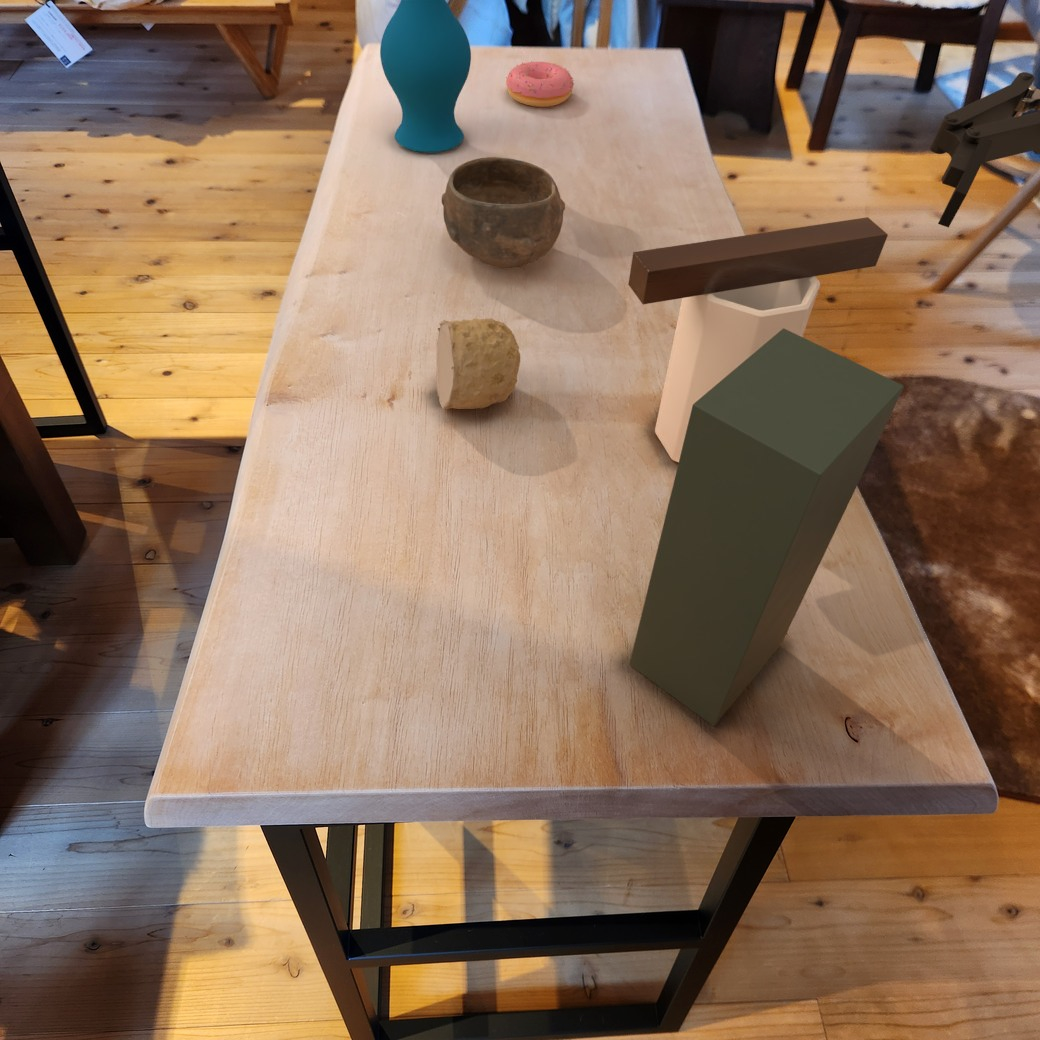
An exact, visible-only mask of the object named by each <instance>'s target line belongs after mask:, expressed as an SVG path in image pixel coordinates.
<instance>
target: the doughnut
mask: <svg viewBox="0 0 1040 1040" xmlns="http://www.w3.org/2000/svg"><path fill="white" fill-rule="evenodd" d="M574 81H575V80H574V78H573V77H572V75H571V73H570V71H569V70H567V67H563V66H561V65H559V64H557V63H553V62H549V61H533V60H531V61H530V62H529V61H528V62H522V63H520V64H516V66H514V67H513V68H511V70H510V71H509V73H508V74H507V77H506V82H505V83H506V88H507V92H508V94H509V95H510V96H511V98H512V99H514V100H515V101H517V102H518V103H521V104H524V105H526V106H531V107H538V108H539V107H540V108H541V107H543V108H544V107H552V106H553V107H554V106H557V105H559V104H562V103H563V102H565V101H566V100H568V99H569V98H570V96H571V94H572V92H573V89H574V85H575V83H574Z"/></svg>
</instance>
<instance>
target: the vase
mask: <svg viewBox="0 0 1040 1040" xmlns="http://www.w3.org/2000/svg"><path fill="white" fill-rule="evenodd" d="M379 52H380V53H379V56H380V62H381V63H380V64H381V67H382V70H383V74H384V76H385V78H386V80H387V82H388V84H389V86H390V87H391V89H392V91H393V93H394V94H395V97H396V98H397V100H398V103H399V105H400V108H401V123H400V124H399V126H398V127H397V129H396V131H395V132H394V139H395V141H396V142H397V143H398V144H399V145H400V146H402V147H403V148H404V149H407V150H410V151H412V152H417V153H427V154H429V153H433V154H434V153H442V152H446V151H450V150H453V149H455V148H456V147H458V146H459V145H461V143H462V142H463V140H464V139H465V134H464V132H463V130H462V129H461V127H460V125H458V124H457V121H456V117H455V109H456V104H457V102H458V98H459V96H460V94H461V93H462V90H463V88H464V86H465V84H466V82H467V80H468V77H469V73H470V69H471V61H472V50H471V45H470V41H469V38H468V35H467V33H466V30H465V29H464V27H463V25H462V24H461V22H460V21H459V19H458V18H457V16H456V15H455V14H454V12H453V10H452V9H451V8H450V5H449V4H448V2H447V1H446V0H400V2H399V4H398V6H397V8H396V10H395V12H394V13H393V15H392V16H391V18H390V20H389V21H388V23H387V25H386V27H385V29H384V31H383V33H382V37H381V41H380V48H379Z"/></svg>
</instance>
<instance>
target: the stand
mask: <svg viewBox="0 0 1040 1040" xmlns="http://www.w3.org/2000/svg"><path fill="white" fill-rule="evenodd" d="M904 388H905V385H904V384H902V383H900V382H897V381H896V380H894V379H891V378H889V377H887V376H885V375H883V374H880V373H878V372H876V371H874V370H872V369H870V368H867V367H865V366H863V365H862V364H860V363H858V362H855V361H853V360H851V359H849V358H847V357H844V356H842V355H841V354H839V353H836V352H834V351H832V350H830V349H828V348H826V347H825V346H822V345H819V344H818V343H816V342H814V341H811V340H810V339H807V338H805V337H804V336H803V337H801V336H799V335H797V334H795V333H792V332H790V331H788V330H786V329H784V328H783V329H782V330H781V331H779V332H778V333H777V334H776V335H775V336H773V337H772V338H771V339H770V340H769V341H768V342H766V343H765V344H764V345H763V346H762V347H760V348H759V349H758V350H757V351H756V352H755V353H753V354H752V355H751V356H750V357H749V358H747V359H746V360H745V361H744V362H743V363H741V364H740V365H739V366H738V367H737V368H736V369H734V370H733V371H732V372H731V373H730V374H728V375H727V376H726V377H725V378H724V379H722V380H721V381H720V382H719V383H718V384H717V385H715V386H714V387H713V388H712V389H711V390H709V391H708V392H707V393H706V394H705V395H703V396H702V397H701V398H700V399H699V400H698V401H696V402H695V403H694V404H693V406H692V410H691V414H690V418H689V422H688V426H687V430H686V435H685V439H684V443H683V447H682V451H681V455H680V459H679V462H677V463H678V464H677V467H676V472H675V475H674V480H673V483H672V488H671V491H670V492H671V493H670V497H669V500H668V505H667V507H666V513H665V517H664V521H663V526H662V529H661V534H660V538H659V541H658V546H657V549H656V554H655V557H654V558H655V559H654V562H653V566H652V571H651V575H650V577H649V582H648V587H647V590H646V595H645V599H644V603H643V607H642V610H641V614H640V619H639V623H638V628H637V631H636V636H635V639H634V643H633V648H632V652H631V655H630V659H629V660H630V661H629V664H628V665H629V666H630V667H632V668H633V669H634V670H636V671H637V672H638V673H640V674H641V675H642V676H644V677H645V678H647V679H648V680H649V681H651V682H652V683H654V685H657V686H658V687H659V688H660V689H662V690H663V691H664V692H666V693H667V694H669V695H670V696H671V697H672V698H674V699H675V700H677V701H678V702H679V703H681V704H682V705H683V706H685V707H686V708H687V709H689V710H690V711H692V712H693V713H694V714H696V715H697V716H698V717H700V718H701V719H702V720H704V721H705V722H707V723H708V724H710V725H711V726H712V727H715V726H716V725H717V724H718V723H719V722H720V720H721V719H722V717H724V715H725V714H726V713H727V712H728V710H729V709H730V708H731V707H732V706H733V704H734V703H735V702H736V701H737V700H738V698H739V697H740V696H741V695H742V694H743V692H744V691H745V690H746V688H747V687H748V686H749V685H750V684H751V682H752V681H753V680H754V679H755V677H756V676H757V675H758V674H759V673H760V671H761V670H762V669H763V668H764V667H765V666H766V664H767V663H768V662H769V661H770V659H771V658H772V656H773V655H774V654H775V653H776V652H777V651H778V649H780V647H781V646H782V644H783V642H784V640H785V637H786V635H787V633H788V631H789V629H790V627H791V625H792V624H793V621H794V619H795V617H796V615H797V612H798V610H799V608H800V607H801V604H802V602H803V600H804V598H805V596H806V594H807V592H808V589H809V588H810V585H811V583H812V581H813V579H814V577H815V575H816V572H817V570H818V569H819V566H820V564H821V562H822V560H823V558H824V557H825V554H826V552H827V550H828V548H829V546H830V543H831V542H832V539H833V538H834V535H835V532H837V528H838V526H839V524H840V523H841V520H842V518H843V516H844V514H845V512H846V511H847V508H848V505H849V504H850V502H851V500H852V497H853V495H854V493H855V491H856V489H857V487H858V485H859V482H860V480H861V479H862V477H863V474H864V472H865V470H866V468H867V466H868V464H869V462H870V459H871V457H872V456H873V453H874V452H875V450H876V447H877V445H878V443H879V441H880V440H881V439H880V438H881V437H882V435H883V433H884V430H885V428H886V426H887V424H888V422H889V421H890V420H889V419H890V418H891V416H892V413H893V411H894V410H895V407H896V405H897V403H898V401H899V399H900V396H901V394H902V392H903V391H904Z"/></svg>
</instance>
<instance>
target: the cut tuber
mask: <svg viewBox="0 0 1040 1040" xmlns="http://www.w3.org/2000/svg"><path fill="white" fill-rule="evenodd" d="M437 331H438V337H437V342H436V377H437V379H436V380H437V381H436V383H437V384H436V397H437V398H438V402H439V404H440V406H441V408H442V410H447V409H448V410H449V409H456V410H457V409H459V410H460V409H461V410H463V409H465V410H466V409H467V410H470V409H472V410H475V409H481V410H482V409H485V408H488V407H490V406H491V405H495V404H496V403H498V404H499V403H502V402H504V401H506V400H507V399H508V397H509V396H510V394H511V393H512V392H513V391H514V389H515V386H516V384H517V382H518V373H519V370H520V364H521V352H520V346H519V345H518V342H517V339H516V336H515V335H514V333H513V331H512V330H511V328H509V326H507V324H506V323H505V322H502V321H499V320H495V319H494V318H492V317H488V318H477V317H475V318H473V319H462V320H452V321H447V320H442V321H441V322H439V327H438V328H437Z"/></svg>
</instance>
